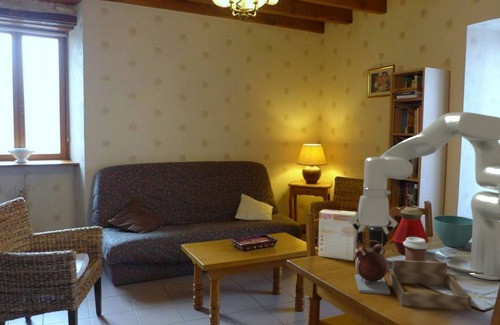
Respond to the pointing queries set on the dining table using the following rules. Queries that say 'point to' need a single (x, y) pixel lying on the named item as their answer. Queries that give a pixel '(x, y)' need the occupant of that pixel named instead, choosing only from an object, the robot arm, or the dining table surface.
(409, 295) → the tray
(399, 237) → the red jar
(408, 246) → the coffee cup
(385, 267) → the alarm clock
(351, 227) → the coffeecake box
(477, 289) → the dining table surface
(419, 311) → the dining table surface
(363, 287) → the slate mat
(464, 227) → the teal bowl
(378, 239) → the drinking cup
